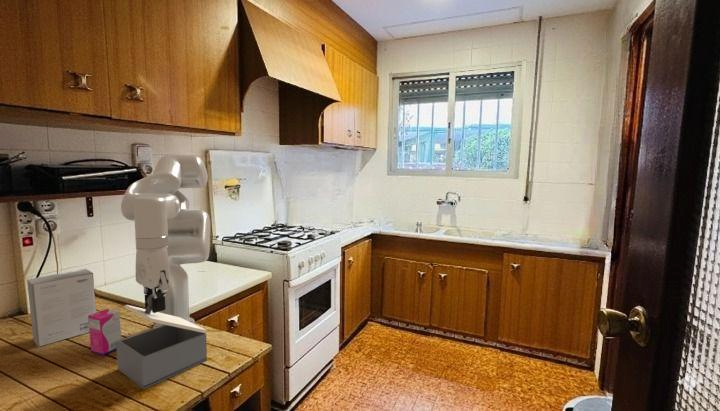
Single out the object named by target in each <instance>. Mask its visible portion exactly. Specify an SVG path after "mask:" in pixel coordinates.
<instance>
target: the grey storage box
mask: <svg viewBox="0 0 720 411" xmlns="http://www.w3.org/2000/svg"><path fill="white" fill-rule="evenodd" d="M116 347H117V350H116V360H117V370H118V371H120V372H121V373H122V374H123V375H125V376H126V377H127V378H128V379H130V380H131V381H132V382H133V383H135V385H137V386H139V387H140V388H142V390H146V389H147V388H150V387H153V386H155V385H156V384H159V383H161V382H163V381H166V380H168V379H170V378H172V377H174V376H177V375H178V374H180V373H183V372H185V371H188V370H189V369H191V368H194V367H196V366H198V365H200V364H202V363H204V362H206V361H208V353H207V352H208V350H207V347H208V346H207V333H202V332H197V331H193V330H188V329H183V328H178V327H174V326H169V325H163V326H160V327H157V328H154V329H153V328H151V329H148V330H146V331H142V332H140V333H137V334H134V335H131V336H128V337H127V336H126V337H124V338H121V340H118V341H116Z"/></svg>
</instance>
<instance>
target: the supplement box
mask: <svg viewBox="0 0 720 411" xmlns="http://www.w3.org/2000/svg"><path fill="white" fill-rule="evenodd" d="M120 318H121V317H120V311H119V310H114V309H110V308H106V309H103V310H100V311H96V313H94V314H91V315H88V321H89V332H88V333H89V342H90V352H91V353H94V354H97V355H100V356H102V357H103V356H106V355H108V354H110V353H112V352H115V351H117V347H116V341H118V340H121V339H122V329H121V319H120Z"/></svg>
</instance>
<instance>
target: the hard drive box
mask: <svg viewBox="0 0 720 411" xmlns="http://www.w3.org/2000/svg"><path fill="white" fill-rule="evenodd" d="M26 282H27V291H28V303H29V311H30V319H31V321H30V322H31V328H32V340H33V342H34V344H35V345H36V346H37V348H38V347H39V348H40V347H43V346H46V345H50V344H54V343H58V342H59V341H64V340H66V339H70V338H74V337H78V336H82V335H84V334H89V333H90V332H89V321H88V315H91V314H94V313H97V309H96V308H97V307H96V306H97V305H96V294H95V280H94V273H93V272H92V271H90V270H89V269H87V268H82V269H77V270H72V271H65V272H60V273H59V272H58V273H54V274H50V275H44V276H39V277H38V276H37V277H34V278H28V279H26Z"/></svg>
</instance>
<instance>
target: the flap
mask: <svg viewBox="0 0 720 411" xmlns="http://www.w3.org/2000/svg"><path fill="white" fill-rule="evenodd" d="M152 298H153V294H152V295H150V296H149V297H148V298H147V303H148V306H147V308H146V309H145V308H141V307H137V306H134V305H129V304H125V305H124V307H123V308H125V309H127V310H128V311H130V312H132V313H133V314H135V315H138V316H140V317H141V318H143V319H145V320H147V321H148V322H151V323H155V324H156V323H159V324H164V325H169V326H174V327H178V328H183V329H188V330H193V331H197V332H202V333H206V334H207V332H208V330H207V329H205V328H203V327H201V326H199V325H197V324H193V323H191V322H188V321H186V320H184V319H182V318H180V317H176V316H172V315H168V314H164V313H159V312H156V313H153V312H152Z"/></svg>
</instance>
